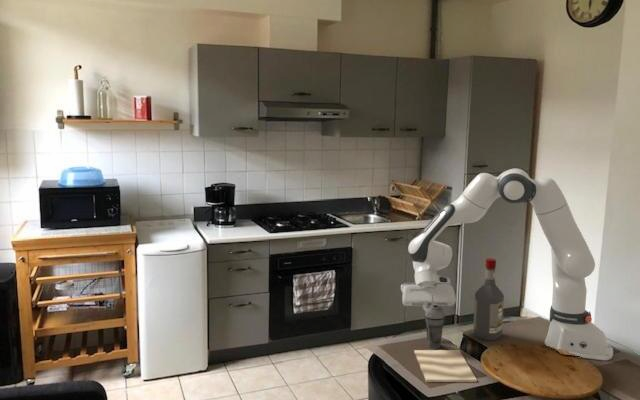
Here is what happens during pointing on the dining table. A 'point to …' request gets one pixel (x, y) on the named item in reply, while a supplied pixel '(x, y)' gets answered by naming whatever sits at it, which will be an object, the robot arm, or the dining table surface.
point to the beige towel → (444, 366)
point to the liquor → (488, 306)
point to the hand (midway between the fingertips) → (431, 315)
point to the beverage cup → (434, 325)
